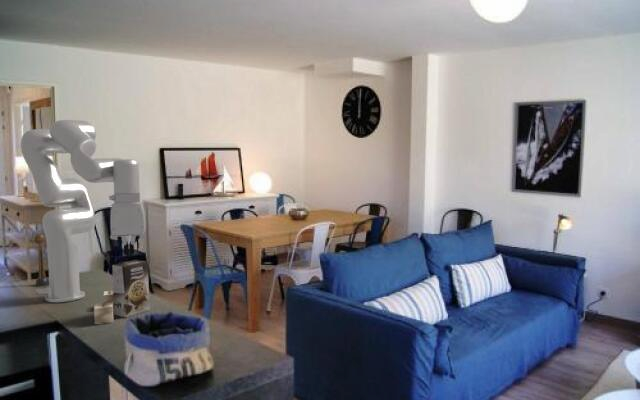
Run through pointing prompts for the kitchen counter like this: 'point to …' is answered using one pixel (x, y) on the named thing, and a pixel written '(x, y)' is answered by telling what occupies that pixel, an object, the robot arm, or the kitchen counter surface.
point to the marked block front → (103, 313)
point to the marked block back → (108, 297)
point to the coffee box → (130, 288)
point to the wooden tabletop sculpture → (40, 261)
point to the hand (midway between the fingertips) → (129, 256)
